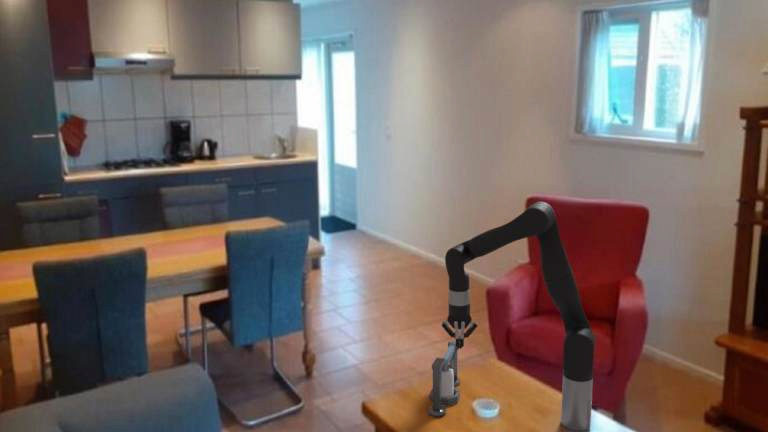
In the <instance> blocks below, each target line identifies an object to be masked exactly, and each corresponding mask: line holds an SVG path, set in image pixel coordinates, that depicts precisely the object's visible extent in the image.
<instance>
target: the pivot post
mask: <svg viewBox="0 0 768 432" xmlns="http://www.w3.org/2000/svg"><path fill="white" fill-rule="evenodd" d="M448 365H451V366H452V369H453V372H454V387H458V386H460V384H461V379H460V378H459V377H458V350H456V351H455V352H454V354H453V356H452V358H451V360H450V362H449V364H448Z"/></svg>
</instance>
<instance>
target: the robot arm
mask: <svg viewBox="0 0 768 432" xmlns="http://www.w3.org/2000/svg"><path fill="white" fill-rule="evenodd" d="M555 212H556V211H555V210H554V209H553V207H552V206H551V205H550V204H549V203H547V202H544V201H537V202H534V203H532V204H531V205H530V206H528V207H527V208H526V209H525V210H524V211H523V212H522V213H520V214H519V215H518V216H516V217H515V218H513V219H512V220H510V221H509V222H507V223H505V224H502V225H500V226H498V227H495V228H492V229H489V230H486V231H484V232H482V233H480V234H478V235H475V236H473V237H472V238H471V239H469V240H466V241H465V240H464V241H463V242H461V243H459V244H456V245H455V246H453V247H451V248H449V249H448V250H447V251H446V253H445V259H444V260H445V261H444V262H445V268H446V272H447V276H448V299H447V301H448V304H447V305H448V307H447V308H448V316H447V319H446V320H445V321H442V322H441V328H443V329H444V331H445V332H446V333H447V335H449V337H450V338H454V339H455V341H456V347H458V350H461V349H462V348H463V347H465V338H469V337H470V335H472V333H473V332H474V331H475V330H476V328H478V322H477V321H474V320H473V319H472V317H471V292H470V275H469V273H468V272H466V271H465V265H467V264H468V263H470V262H471V261H473V260H475V259H477V258H481V257H484V256H486V255H489V254H491V253H492V252H495V251H497V250H499V249H501V248H502V247H505V246H507V245H509V244H512V243H514V242H517V241H520V240H523V239H527V238H530V237H534V236H536V238H537V242H538V245H539V249H540V265H541V273H542V278H543V281H544V284H545V287H546V290H547V293H548V295H549V297H550V298H551V300H552V302H553V303H554V306H556V308H557V310H558V312H559V313H560V316H561V319H562V322H563V327H564V332H565V337H564V341H563V347H562V348H563V349H562V351H563V352H562V355H563V356H562V371H563V372H562V390H561V391H562V392H561V393H562V394H561V413H560V414H561V415H560V418H561V419H560V423H561V425H562V426H563V427H564V428H566V429H568V430H571V431H575V432H576V431H577V432H583V431H590V430H591V422H592V420H591V419H592V406H593V405H592V404H593V403H592V401H593V384H594V383H593V381H594V379H593V378H594V360H595V358H594V356H595V344H596V336H595V332H594V331H593V329H592V327H591V325H590V322H589V320H588V318H587V315H586V314H585V311H584V308H583V304H582V301H581V296H580V291H579V288H578V285H577V281H576V278H575V275H574V272H573V269H572V267H571V264H570V261H569V259H568V256H567V252H566V250H565V247H564V245H563V241H562V238H561V234H560V229H559V225H558V221H557V215H556V213H555ZM469 325H470V327H468V326H469ZM450 326H451V327H452V328H453V329H454V331H453V330H452V329H451V327H450ZM467 328H468V329H467ZM466 329H467V330H466ZM459 330H460V331H459ZM465 330H466V331H465ZM459 332H460V333H459Z"/></svg>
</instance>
